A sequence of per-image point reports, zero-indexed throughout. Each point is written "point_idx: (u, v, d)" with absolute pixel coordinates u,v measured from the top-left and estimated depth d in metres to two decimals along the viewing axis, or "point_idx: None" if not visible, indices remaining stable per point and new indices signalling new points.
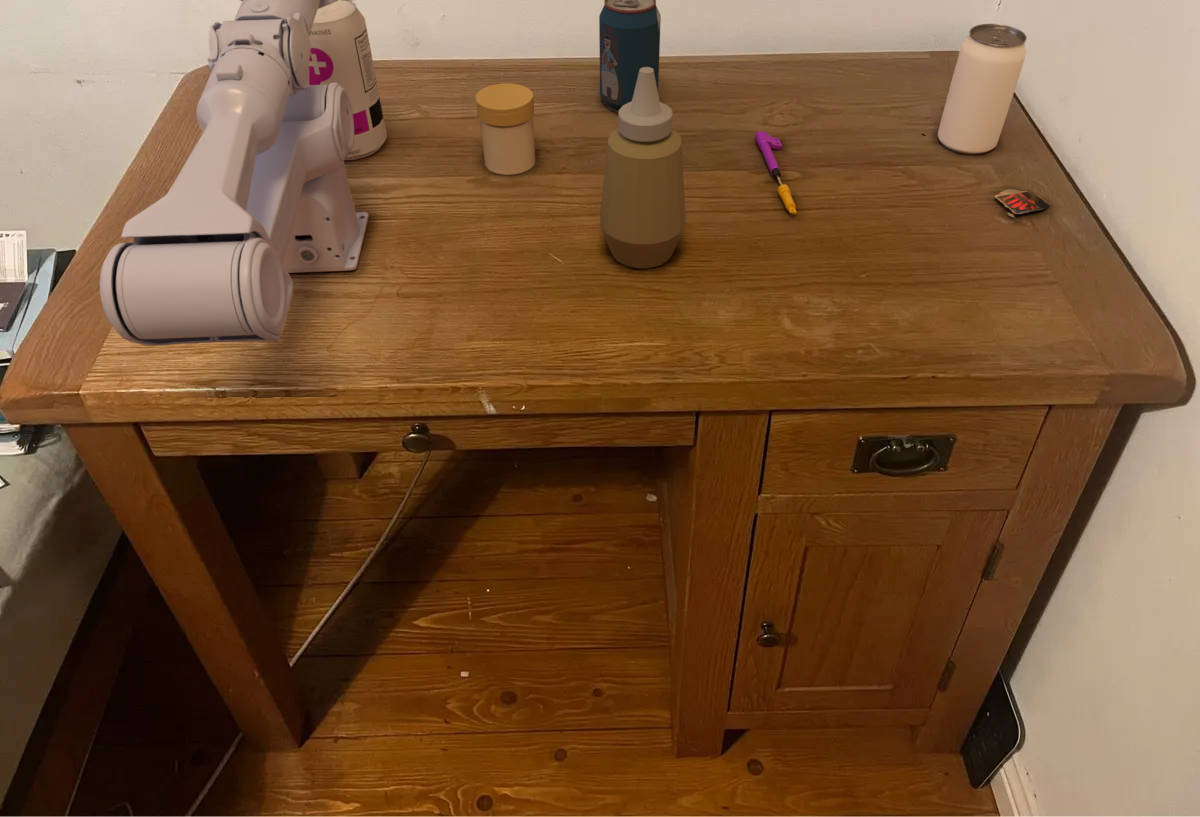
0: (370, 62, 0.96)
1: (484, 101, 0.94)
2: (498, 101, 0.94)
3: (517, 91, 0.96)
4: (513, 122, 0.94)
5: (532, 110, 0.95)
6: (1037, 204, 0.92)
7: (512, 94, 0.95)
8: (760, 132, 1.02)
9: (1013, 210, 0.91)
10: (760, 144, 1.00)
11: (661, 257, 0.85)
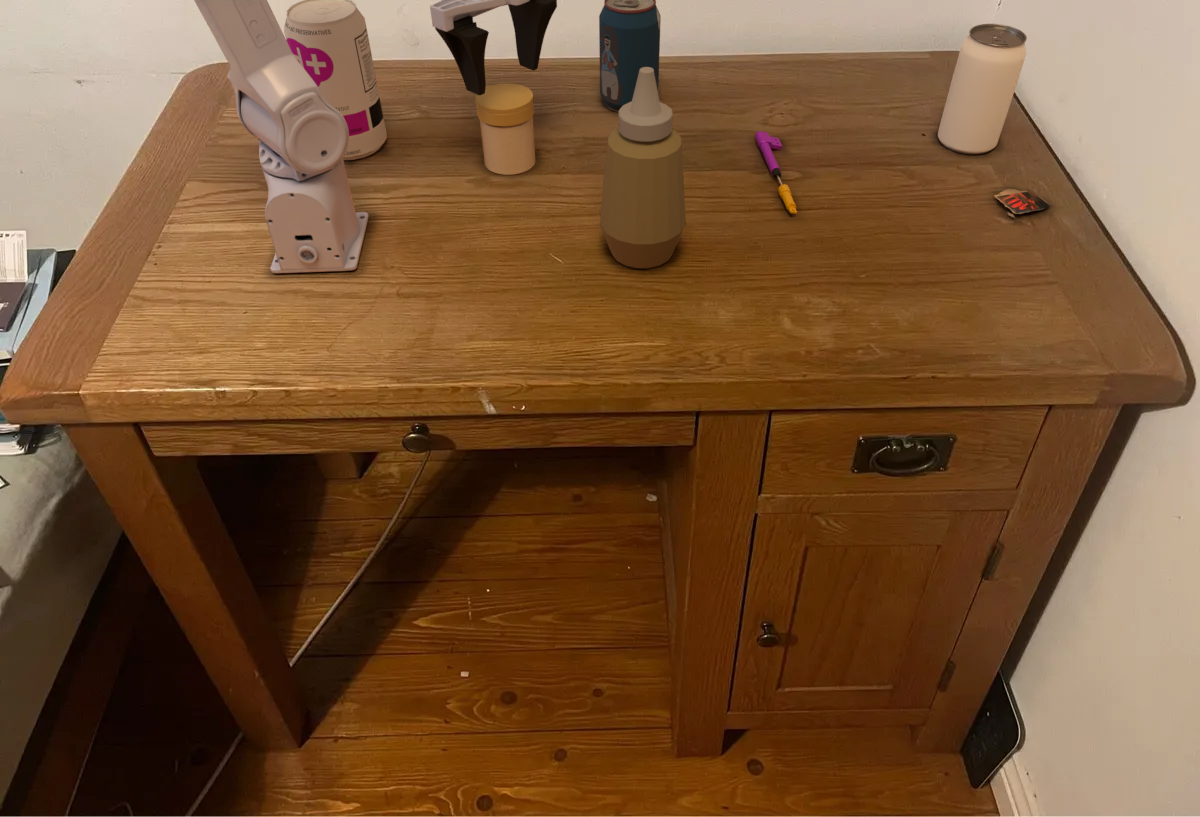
0: (370, 62, 0.96)
1: (484, 101, 0.94)
2: (498, 101, 0.94)
3: (517, 91, 0.96)
4: (513, 122, 0.94)
5: (532, 110, 0.95)
6: (1037, 204, 0.92)
7: (512, 94, 0.95)
8: (760, 132, 1.02)
9: (1013, 210, 0.91)
10: (760, 144, 1.00)
11: (661, 257, 0.85)
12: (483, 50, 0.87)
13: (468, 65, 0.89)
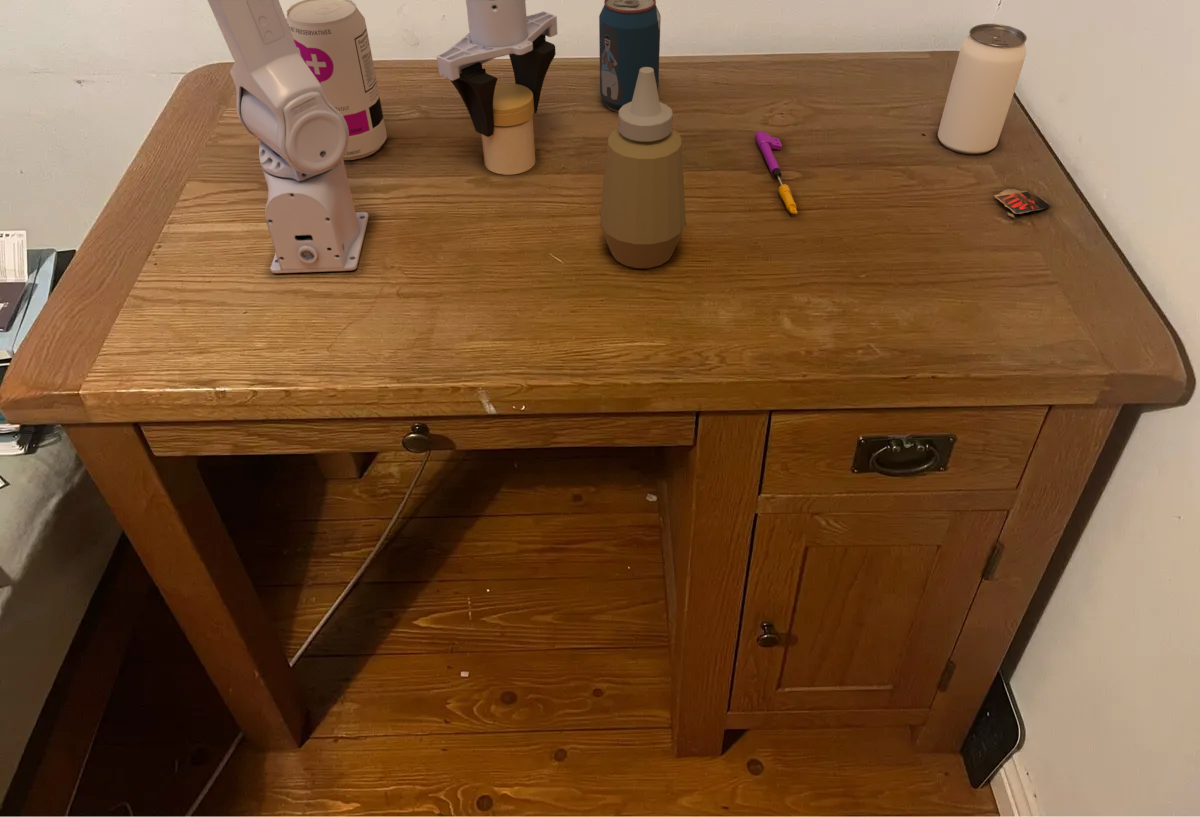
0: (370, 62, 0.96)
1: None
2: (498, 101, 0.94)
3: (517, 91, 0.96)
4: (513, 122, 0.94)
5: (532, 110, 0.95)
6: (1037, 204, 0.92)
7: (512, 94, 0.95)
8: (760, 132, 1.02)
9: (1013, 210, 0.91)
10: (760, 144, 1.00)
11: (661, 257, 0.85)
12: (492, 95, 0.91)
13: (477, 108, 0.93)
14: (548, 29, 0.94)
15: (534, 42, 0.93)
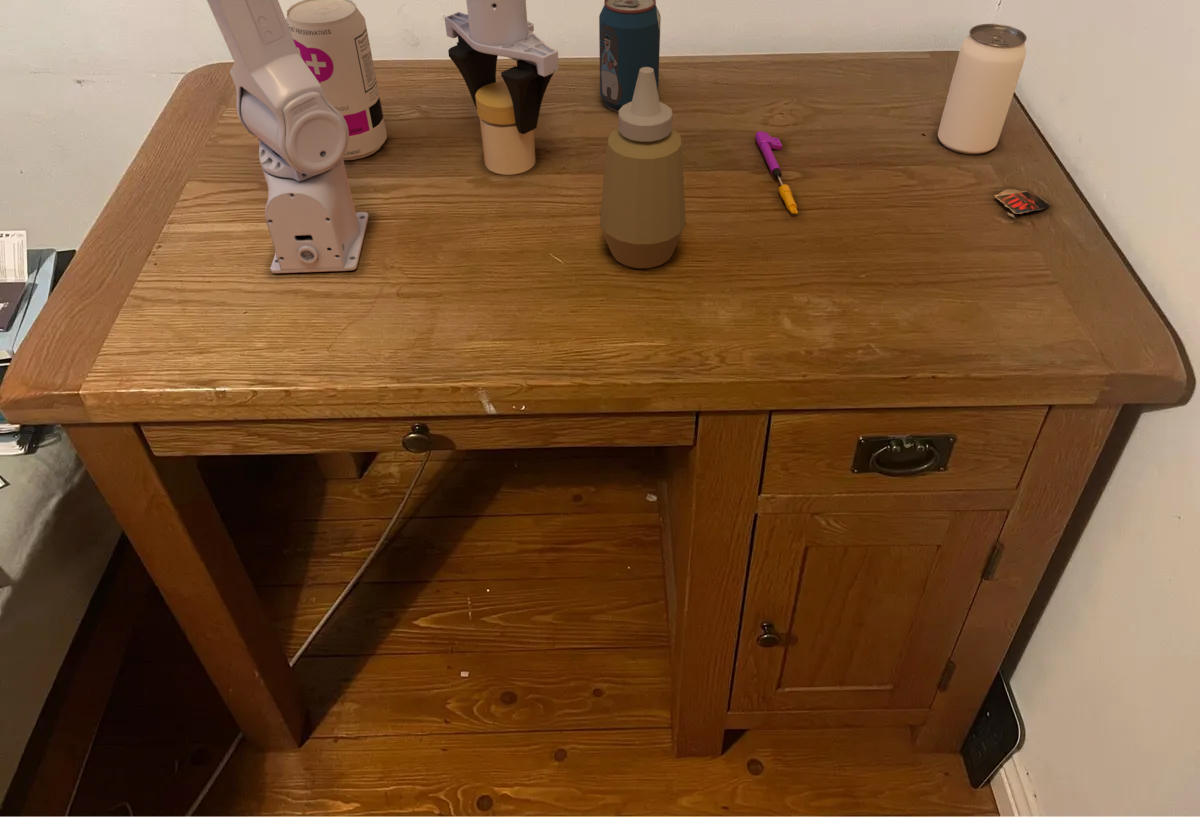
0: (370, 62, 0.96)
1: None
2: None
3: (496, 88, 0.96)
4: None
5: None
6: (1037, 204, 0.92)
7: (502, 90, 0.95)
8: (760, 132, 1.02)
9: (1013, 210, 0.91)
10: (760, 144, 1.00)
11: (661, 257, 0.85)
12: None
13: (528, 106, 0.93)
14: None
15: None
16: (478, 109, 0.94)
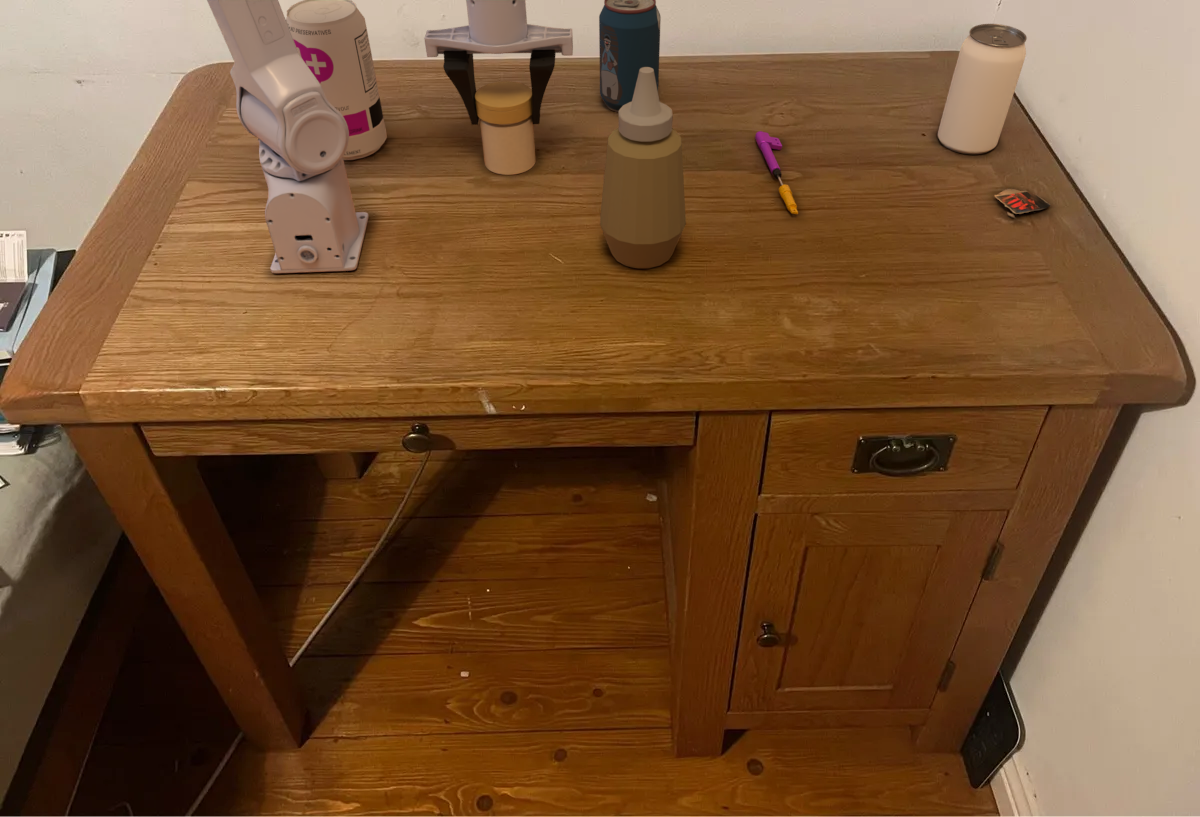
0: (370, 62, 0.96)
1: (524, 96, 0.94)
2: (516, 91, 0.95)
3: (488, 92, 0.95)
4: None
5: None
6: (1037, 204, 0.92)
7: (496, 91, 0.95)
8: (760, 132, 1.02)
9: (1013, 210, 0.91)
10: (760, 144, 1.00)
11: (661, 257, 0.85)
12: None
13: None
14: None
15: None
16: (492, 115, 0.93)
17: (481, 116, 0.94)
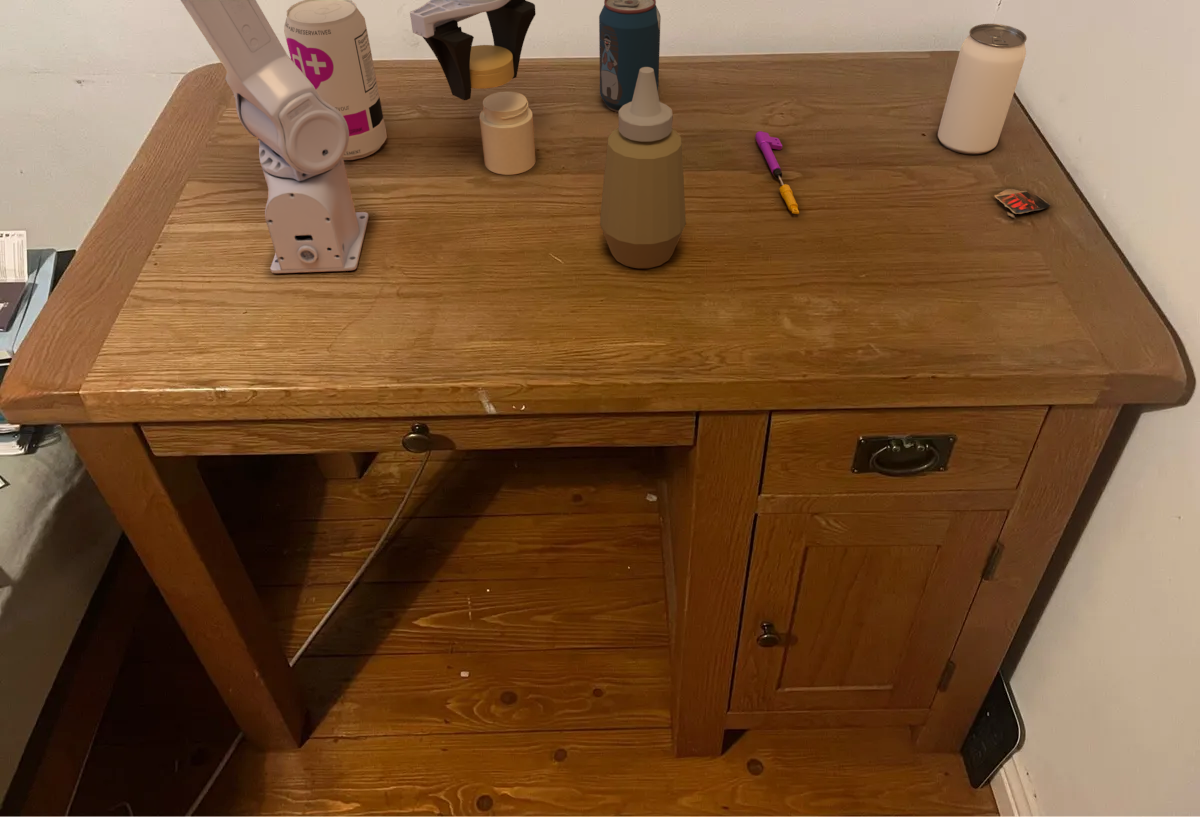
0: (370, 62, 0.96)
1: (503, 51, 0.91)
2: (488, 51, 0.91)
3: None
4: None
5: None
6: (1037, 204, 0.92)
7: (473, 58, 0.90)
8: (760, 132, 1.02)
9: (1013, 210, 0.91)
10: (760, 144, 1.00)
11: (661, 257, 0.85)
12: None
13: None
14: None
15: None
16: (495, 78, 0.89)
17: (480, 85, 0.89)
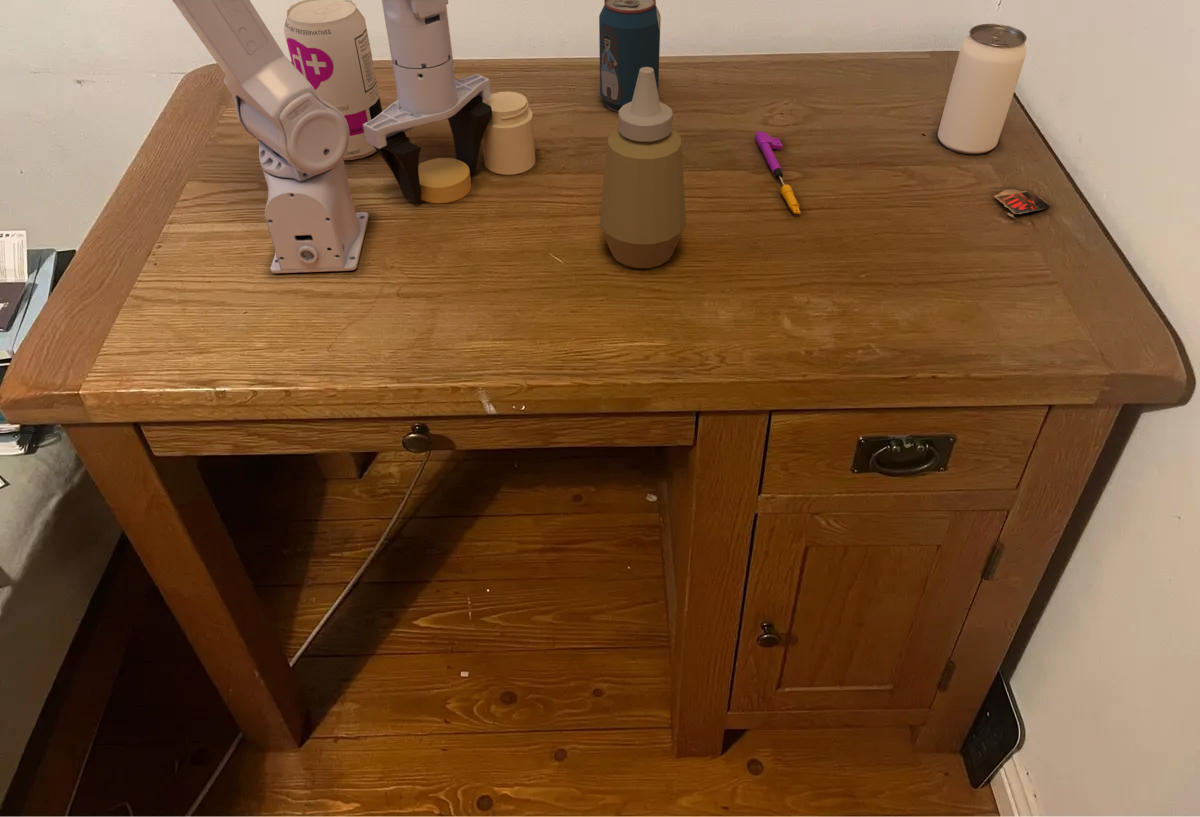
0: (370, 62, 0.96)
1: (460, 166, 0.96)
2: (446, 166, 0.96)
3: (426, 177, 0.94)
4: None
5: None
6: (1037, 204, 0.92)
7: (432, 173, 0.95)
8: (760, 132, 1.02)
9: (1013, 210, 0.91)
10: (761, 144, 1.00)
11: (661, 257, 0.85)
12: None
13: None
14: None
15: None
16: (452, 194, 0.94)
17: (438, 200, 0.94)
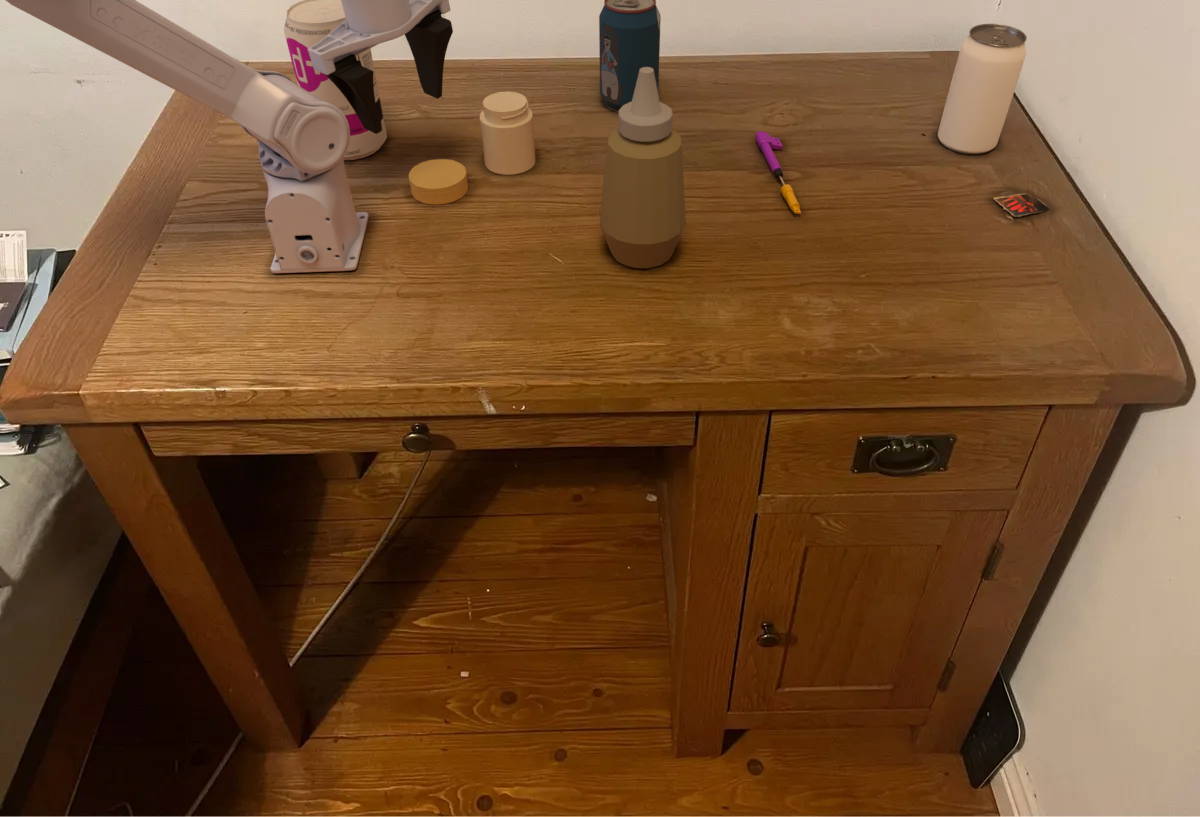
0: (370, 62, 0.96)
1: (457, 167, 0.96)
2: (443, 167, 0.96)
3: (423, 178, 0.94)
4: None
5: None
6: (1036, 206, 0.93)
7: (429, 174, 0.95)
8: (760, 132, 1.02)
9: (1012, 213, 0.92)
10: (761, 144, 1.00)
11: (661, 257, 0.85)
12: None
13: None
14: None
15: None
16: (449, 195, 0.94)
17: (435, 201, 0.94)
